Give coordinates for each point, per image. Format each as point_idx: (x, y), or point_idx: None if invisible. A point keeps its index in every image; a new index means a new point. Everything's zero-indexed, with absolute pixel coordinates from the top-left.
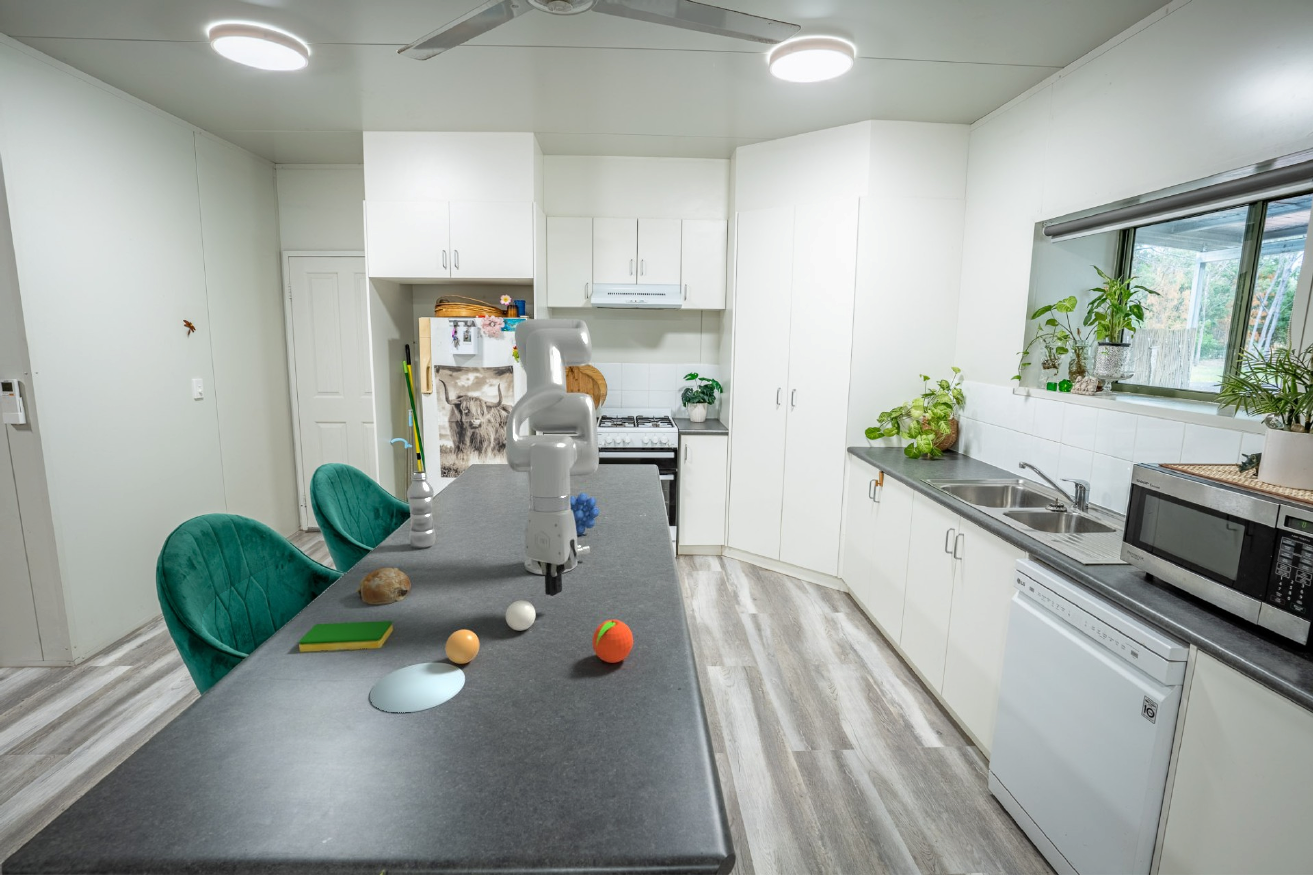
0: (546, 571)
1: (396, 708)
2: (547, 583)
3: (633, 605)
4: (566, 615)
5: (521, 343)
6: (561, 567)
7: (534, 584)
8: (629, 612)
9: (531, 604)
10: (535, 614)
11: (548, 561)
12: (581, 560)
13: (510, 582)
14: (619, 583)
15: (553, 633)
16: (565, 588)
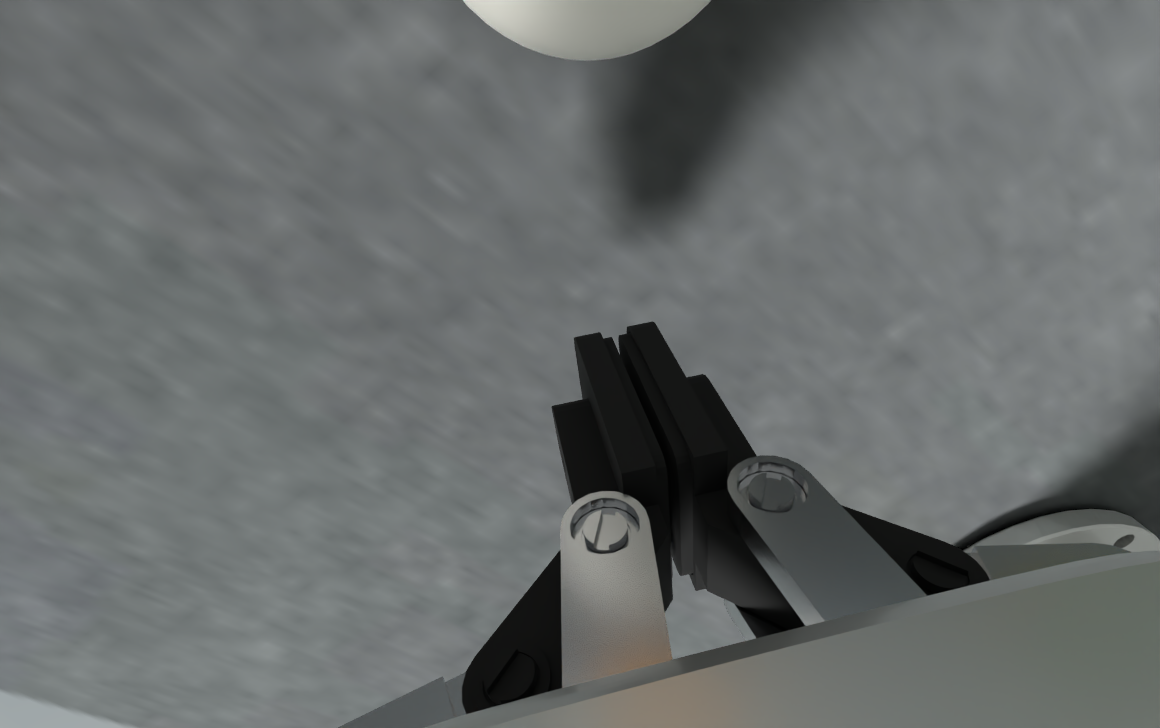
0: (737, 507)
1: None
2: (660, 398)
3: (299, 631)
4: (478, 326)
5: None
6: (482, 682)
7: (973, 446)
8: (227, 582)
9: (545, 10)
10: (467, 5)
11: (645, 695)
12: None
13: (1131, 374)
14: None
15: (258, 40)
16: None
